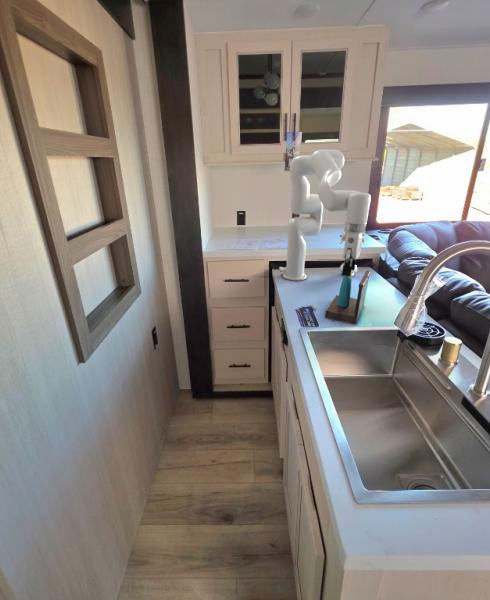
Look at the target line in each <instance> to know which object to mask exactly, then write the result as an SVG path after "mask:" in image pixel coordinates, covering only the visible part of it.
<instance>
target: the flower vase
mask: <svg viewBox="0 0 490 600" xmlns="http://www.w3.org/2000/svg"><path fill="white" fill-rule="evenodd" d="M346 234H347V232H345V231H344V230H343V232H342V233H341V234H340V235H339V238H340V239H339V245H341V244H342V243H343V242H345V240H346ZM365 239H366V237H365V233H362V243H363V244H364V245H366V241H365ZM343 265H344V262H343V263H342V264H341V265H340V266H339V271H340V272H341V273H342V270H343ZM358 269H359V268H358V267H357V265H356V264H355V269H354V270H352V277H354V275H355V274H356V273H357V272H358Z"/></svg>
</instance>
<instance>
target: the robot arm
mask: <svg viewBox="0 0 490 600" xmlns="http://www.w3.org/2000/svg"><path fill="white" fill-rule="evenodd" d="M344 164H345V156H344V154H343V152H342V151H340V150H338V149H318V150H315V151H313V153H312V154H311V155H310V154H309V155H308V154H307V155H305V154H304V155H298V156H295V157H294V158H292V160H291V161H290V165H289V177H290V180H291V181H290V182H291V192H290V193H291V195H290V209H291V213H292V214H294V215H309V216H296V217H292V218H290V219H289V220H288V221H287V223H286V232H287V251H286V252H287V253H286V266H285V267H283V266H279V268H278V271H279V272H281V273H282V277H283V279H285V280H289V281H294V282H298V281H303V280H305V279H307V274H306V273H305V266H306V265H305V264H306V263H305V262H306V253H307V243H306V241H305V239H304V237H311V236H317V235H318V234H320V232H321V229H322V223H323V211H324V208H325V209H326V210H327V211H328V212H346V213H345V221H344V226H343V227H344V229H343V232H344V231H345V232H347V234H346V240H345V241H344V246H343V247H344V248H343V255H342V257H343V258H344V262H343V263H344V265H343V270H342V272H341V276H344V275H345V276H350V275H351V270H354V269H355V265H356V263H357V259H358V258H359V257H360V255H361V249H362V243H363V242H362V233H363V234H365V233H366V230H367V229H366V228H367V222H368V216H369V211H370V205H371V194H370V193H368V192H361V191H358V190H355V189H348V190H347V189H343V190H341V189H340V190H338V189H337V190H333V188H332V187H333V186H335V185H336V184H338V182H339V181H340V180H341V177H342V171H341V169H342V168H344ZM306 176H316V177H317V178H318V180H319V181H320V182H319V183H318V188H317V193H318V194H316V193H310V182H309V180H308V178H307V177H306ZM350 260H351V261H350ZM351 265H352V266H351Z"/></svg>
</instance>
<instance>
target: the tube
mask: <svg viewBox="0 0 490 600" xmlns="http://www.w3.org/2000/svg"><path fill="white" fill-rule="evenodd" d="M350 261H351V260H350ZM351 266H352V265H351ZM352 278H353V276H352V270H351V275H350V276H345V275H342V278H341V279H342V280H341V284H340V288H339V292H338V301H337V304H338V305H339V306H342V307H347V306H349V303H350V298H351V295H352V294H351V293H352Z"/></svg>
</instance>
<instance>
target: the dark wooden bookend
mask: <svg viewBox="0 0 490 600" xmlns="http://www.w3.org/2000/svg"><path fill="white" fill-rule="evenodd" d="M370 275H371V270H365V272H364V274H363V276H362V278H361V280H360V282H359V284H358V291H357V295H356V296H357V298H354V297H350V303H349V306H347V307H342V306H339V305H338V304H337V301H338V296H339V294H336V295H335V296H334V298H333V299H332V301H331V303H329V306H328V307H327V309H326V310H325V314H324V317H325V318H327V319H331V320H336V321H339V322H340V321H341V322H345V323H348V324H349V323H350V324H355V325H356V324H357V323H358V321H359V319H360V317H361V314H362V311H363V309H364V305H365V301H366V295H367V289H368V283H369V278H370Z"/></svg>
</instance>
